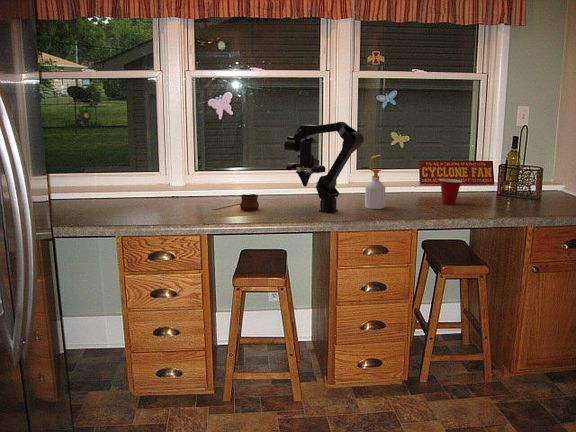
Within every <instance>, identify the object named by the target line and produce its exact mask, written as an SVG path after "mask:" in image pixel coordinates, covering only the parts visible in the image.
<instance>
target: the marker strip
mask: <svg viewBox="0 0 576 432" xmlns="http://www.w3.org/2000/svg"><path fill="white" fill-rule="evenodd" d="M240 203H241V202H237V203H234V204H229V205H223V206H218V207H215V208H212V209H211V210H213V211H216V210H220V209H225V208H230V207H233V206H235V207H236V206H238V205H239V206H240Z"/></svg>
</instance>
